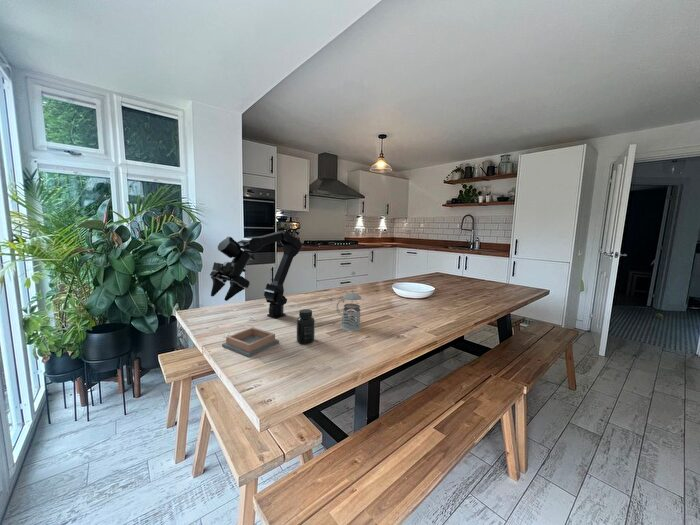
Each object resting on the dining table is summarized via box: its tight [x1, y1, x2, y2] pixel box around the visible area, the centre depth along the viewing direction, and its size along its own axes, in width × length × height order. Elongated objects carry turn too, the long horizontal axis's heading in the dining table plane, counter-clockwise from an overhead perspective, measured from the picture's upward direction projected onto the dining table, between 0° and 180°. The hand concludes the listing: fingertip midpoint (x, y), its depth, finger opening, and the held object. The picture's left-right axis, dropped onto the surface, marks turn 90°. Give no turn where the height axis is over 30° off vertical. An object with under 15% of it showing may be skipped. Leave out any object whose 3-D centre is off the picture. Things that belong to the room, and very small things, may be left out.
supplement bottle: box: [296, 308, 316, 345], centre depth 109 cm, size 7×7×12 cm
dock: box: [221, 326, 280, 358], centre depth 104 cm, size 14×14×4 cm
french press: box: [336, 271, 363, 332], centre depth 124 cm, size 10×12×25 cm
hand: (218, 298), depth 111 cm, fingers open, 9 cm apart
